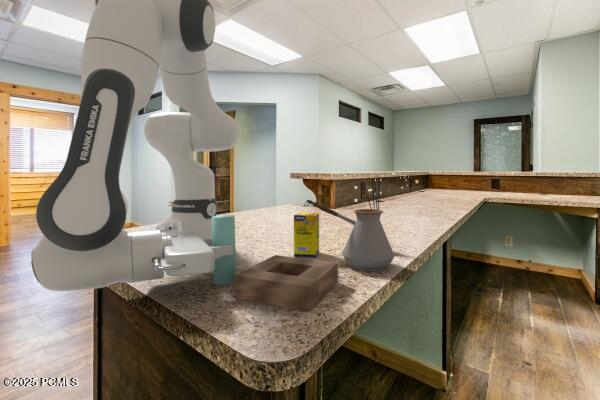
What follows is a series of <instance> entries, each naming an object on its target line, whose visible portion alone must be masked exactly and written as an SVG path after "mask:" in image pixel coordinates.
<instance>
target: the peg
mask: <svg viewBox="0 0 600 400" xmlns="http://www.w3.org/2000/svg"><path fill="white" fill-rule="evenodd" d="M224 244H230V245H232V246H233V254H232V255H225V256H222V257H220V258H217V259H215V269H214V270H213V271H212V272H213V274H212V275H213V283H214V285H218V286H225V285H227V286H228V285H231V284H233V283H234V284H235V275H236V274H237V257H236V256H237V255H236V252H237V251H236V217H235V215H233V214H232V215H231V214H221V215H220V214H219V215H216V216H212V245H213V246H214V247H217V246H222V245H224Z"/></svg>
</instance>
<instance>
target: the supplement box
mask: <svg viewBox="0 0 600 400" xmlns="http://www.w3.org/2000/svg"><path fill="white" fill-rule="evenodd" d="M319 253H320V212H308V211H307V212H304V211H303V212H302V211H299V212H297V213H296V214H294V215H293V257H295V258H312V259H314V258H317V256H318V254H319Z"/></svg>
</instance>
